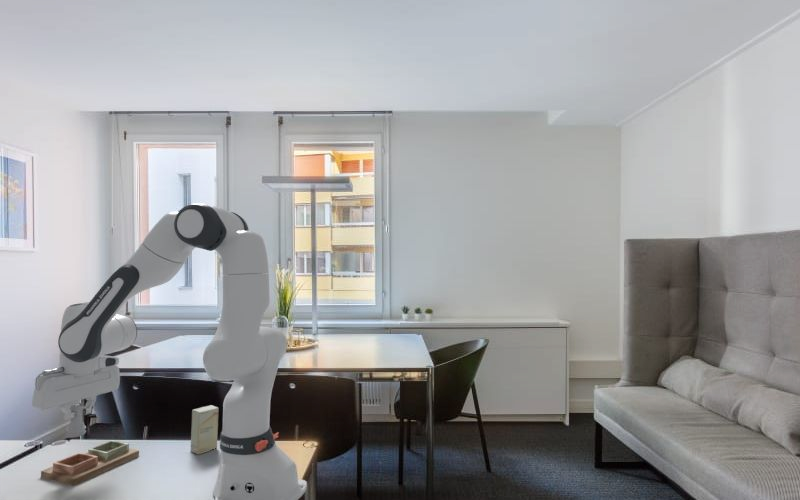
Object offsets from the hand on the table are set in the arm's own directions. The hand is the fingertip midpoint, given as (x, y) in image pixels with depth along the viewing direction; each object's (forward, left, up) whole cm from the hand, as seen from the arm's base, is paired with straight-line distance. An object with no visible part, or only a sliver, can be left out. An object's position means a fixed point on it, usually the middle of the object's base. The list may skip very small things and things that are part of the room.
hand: (77, 416), depth 113 cm
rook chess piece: (0, 0, -5) cm, 5 cm away
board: (0, -5, -15) cm, 15 cm away
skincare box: (-20, -24, -15) cm, 34 cm away
